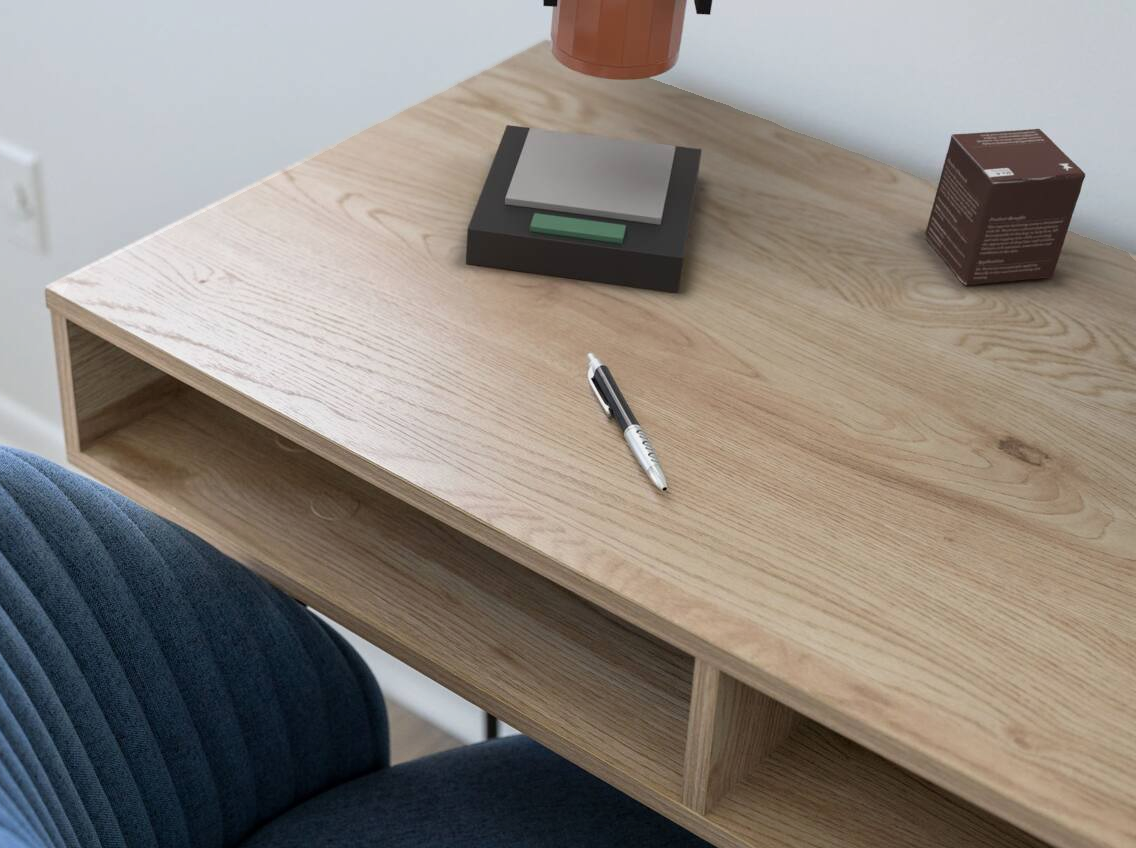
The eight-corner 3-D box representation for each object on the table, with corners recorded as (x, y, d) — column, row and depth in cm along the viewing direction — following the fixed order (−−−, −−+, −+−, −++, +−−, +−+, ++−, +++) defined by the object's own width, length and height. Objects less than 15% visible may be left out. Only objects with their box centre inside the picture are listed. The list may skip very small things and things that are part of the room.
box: (1010, 231, 104) (1041, 126, 99) (1054, 281, 99) (1089, 174, 95) (921, 237, 103) (949, 132, 98) (962, 288, 98) (992, 180, 94)
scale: (696, 182, 108) (703, 141, 106) (678, 293, 97) (684, 250, 95) (504, 158, 110) (507, 117, 108) (465, 264, 99) (467, 221, 97)
